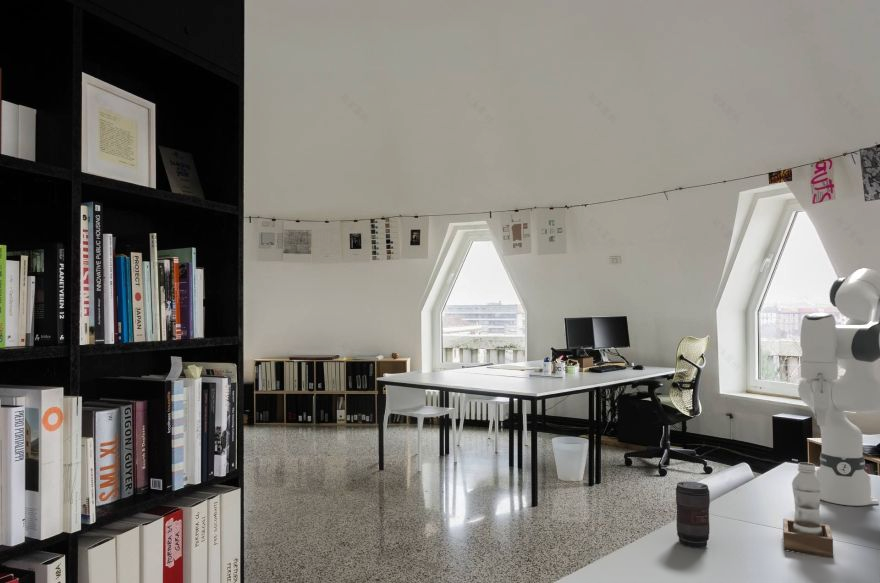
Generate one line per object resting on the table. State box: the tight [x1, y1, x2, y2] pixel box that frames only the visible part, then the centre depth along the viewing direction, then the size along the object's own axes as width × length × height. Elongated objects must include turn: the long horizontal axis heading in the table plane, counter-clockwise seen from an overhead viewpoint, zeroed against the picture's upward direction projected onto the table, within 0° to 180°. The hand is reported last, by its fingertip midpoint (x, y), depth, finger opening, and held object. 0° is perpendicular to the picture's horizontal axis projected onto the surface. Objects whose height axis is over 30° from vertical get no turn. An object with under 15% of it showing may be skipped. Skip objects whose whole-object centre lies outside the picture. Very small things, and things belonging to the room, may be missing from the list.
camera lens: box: [675, 481, 711, 549], centre depth 166 cm, size 8×8×15 cm
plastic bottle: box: [791, 462, 823, 537], centre depth 164 cm, size 6×7×20 cm
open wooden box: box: [782, 518, 834, 559], centre depth 163 cm, size 12×10×4 cm
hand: (819, 422), depth 176 cm, fingers open, 8 cm apart
